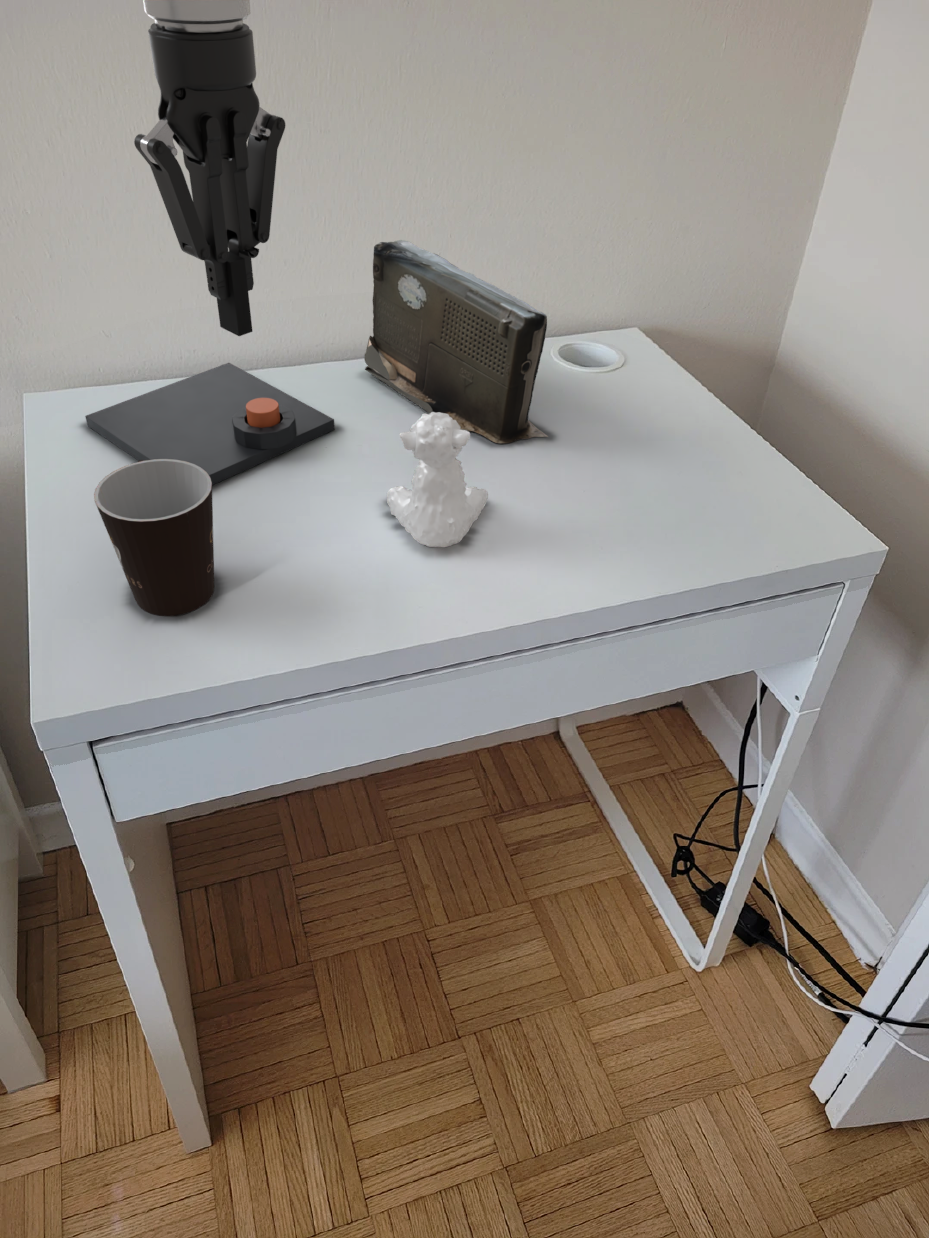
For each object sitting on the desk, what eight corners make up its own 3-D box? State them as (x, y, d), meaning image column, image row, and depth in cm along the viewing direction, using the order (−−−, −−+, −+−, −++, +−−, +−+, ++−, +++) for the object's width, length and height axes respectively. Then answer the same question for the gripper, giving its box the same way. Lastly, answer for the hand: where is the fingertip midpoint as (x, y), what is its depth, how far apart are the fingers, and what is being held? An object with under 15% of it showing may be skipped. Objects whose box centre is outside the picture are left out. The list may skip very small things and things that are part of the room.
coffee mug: (216, 627, 75) (197, 523, 69) (107, 623, 75) (78, 519, 69) (244, 541, 84) (230, 442, 78) (146, 537, 84) (124, 437, 77)
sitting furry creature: (486, 501, 90) (494, 386, 82) (494, 556, 84) (503, 436, 76) (387, 502, 90) (384, 385, 82) (386, 557, 83) (384, 436, 75)
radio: (548, 437, 100) (563, 298, 90) (483, 460, 96) (492, 318, 86) (422, 354, 114) (423, 226, 104) (361, 372, 110) (356, 240, 100)
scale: (193, 498, 89) (188, 470, 87) (87, 426, 98) (80, 399, 96) (338, 431, 99) (337, 405, 97) (230, 372, 108) (226, 347, 106)
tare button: (261, 432, 93) (259, 416, 92) (241, 420, 95) (239, 404, 94) (286, 421, 95) (285, 405, 94) (266, 410, 97) (264, 394, 96)
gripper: (152, 39, 64) (200, 365, 79) (301, 21, 72) (319, 322, 87) (91, 22, 68) (149, 337, 83) (239, 7, 75) (267, 298, 91)
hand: (236, 329), depth 85 cm, fingers closed
